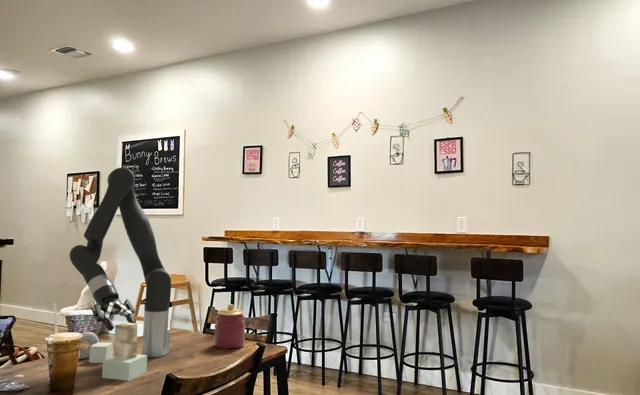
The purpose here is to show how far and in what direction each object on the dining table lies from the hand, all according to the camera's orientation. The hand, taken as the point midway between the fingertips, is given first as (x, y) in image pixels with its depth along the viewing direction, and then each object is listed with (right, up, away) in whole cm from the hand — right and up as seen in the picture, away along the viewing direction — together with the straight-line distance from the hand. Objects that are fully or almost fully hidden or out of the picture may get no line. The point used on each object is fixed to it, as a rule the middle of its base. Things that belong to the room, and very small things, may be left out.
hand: (122, 327), depth 165 cm
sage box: (+2, -16, -2) cm, 16 cm away
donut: (-21, -16, +15) cm, 30 cm away
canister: (+29, -19, +41) cm, 54 cm away
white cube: (-14, -16, +13) cm, 25 cm away
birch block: (+2, -10, -2) cm, 10 cm away
